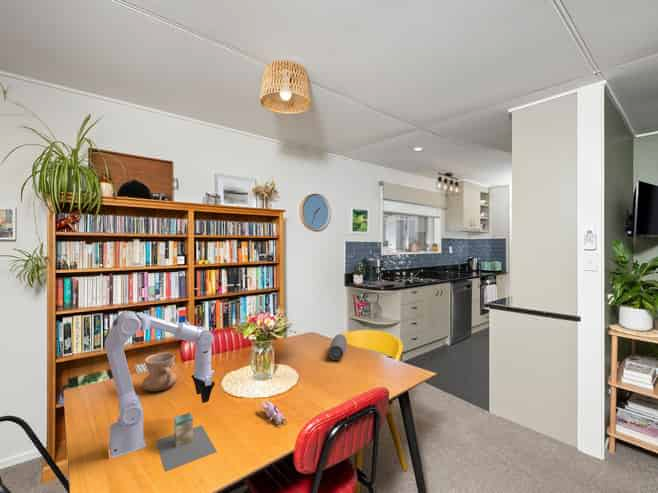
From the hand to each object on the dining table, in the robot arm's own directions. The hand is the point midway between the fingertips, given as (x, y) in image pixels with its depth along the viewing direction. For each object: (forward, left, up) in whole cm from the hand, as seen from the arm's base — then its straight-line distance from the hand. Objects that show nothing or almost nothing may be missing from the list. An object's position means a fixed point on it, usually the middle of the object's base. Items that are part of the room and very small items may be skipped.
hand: (202, 397), depth 117 cm
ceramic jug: (-8, +41, -10) cm, 43 cm away
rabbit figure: (+23, -12, -10) cm, 28 cm away
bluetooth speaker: (+86, +27, -10) cm, 91 cm away
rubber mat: (-8, -11, -10) cm, 17 cm away
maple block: (-8, -8, -9) cm, 15 cm away
